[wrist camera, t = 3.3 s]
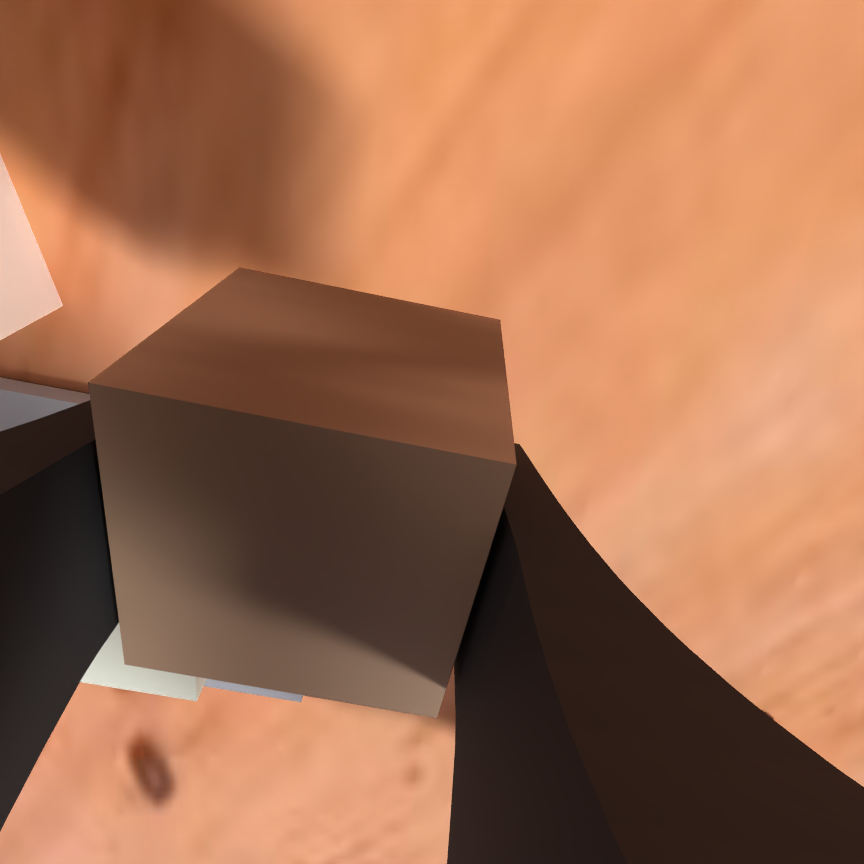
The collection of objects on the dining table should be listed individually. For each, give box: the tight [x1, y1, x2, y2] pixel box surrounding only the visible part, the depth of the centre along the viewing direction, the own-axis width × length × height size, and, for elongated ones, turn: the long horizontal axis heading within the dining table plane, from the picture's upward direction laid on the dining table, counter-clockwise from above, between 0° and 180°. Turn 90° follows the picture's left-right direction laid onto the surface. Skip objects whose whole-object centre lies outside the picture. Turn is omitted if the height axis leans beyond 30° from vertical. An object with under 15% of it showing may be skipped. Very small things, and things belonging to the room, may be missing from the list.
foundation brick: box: [80, 623, 207, 701], centre depth 19 cm, size 6×6×2 cm
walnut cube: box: [88, 268, 517, 718], centre depth 9 cm, size 4×4×4 cm
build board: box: [0, 377, 303, 702], centre depth 20 cm, size 12×12×1 cm
